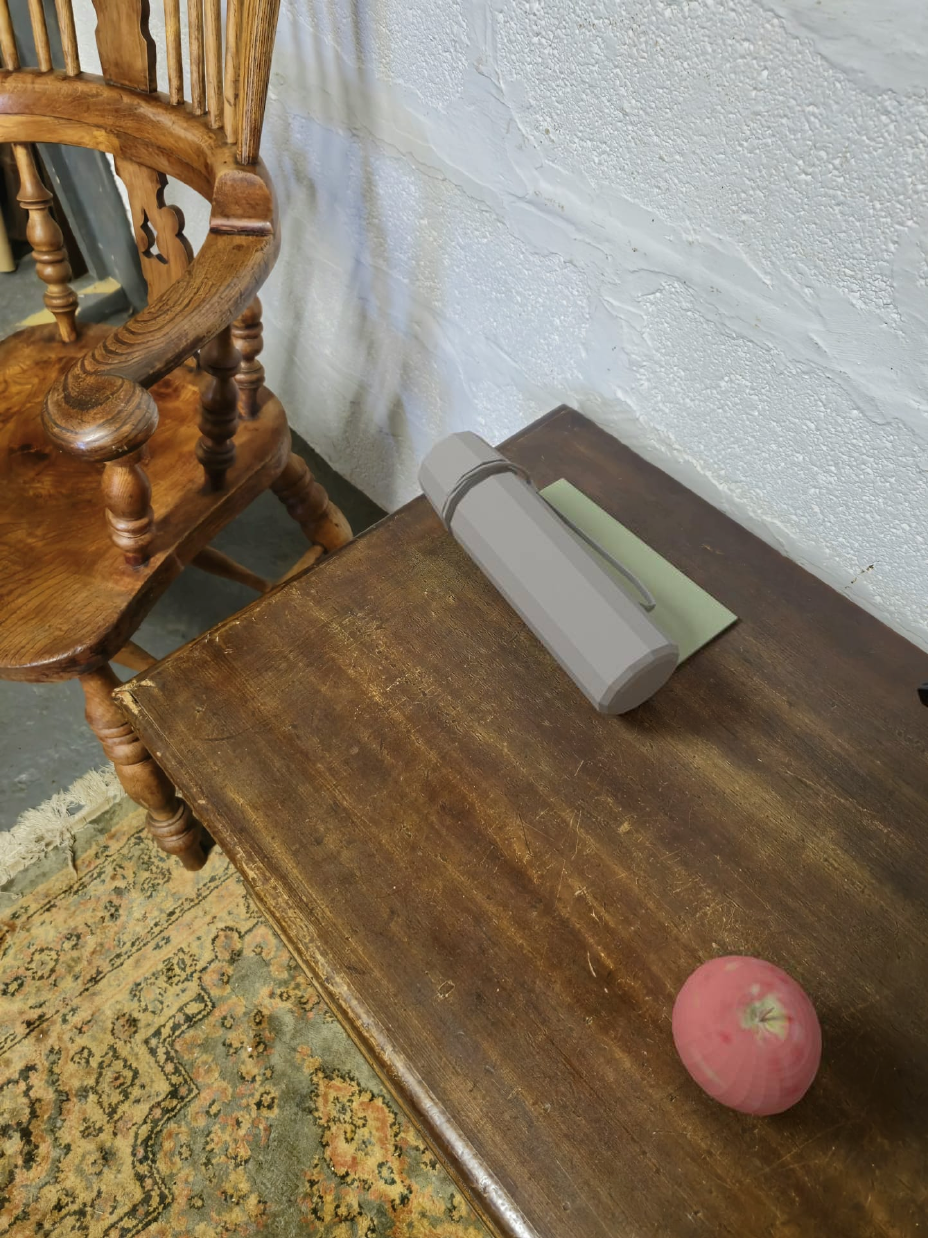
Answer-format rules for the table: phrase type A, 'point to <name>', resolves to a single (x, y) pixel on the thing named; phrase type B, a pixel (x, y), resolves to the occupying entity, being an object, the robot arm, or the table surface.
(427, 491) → the water bottle
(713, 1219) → the table surface
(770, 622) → the table surface
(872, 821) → the table surface
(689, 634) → the mat
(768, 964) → the apple
